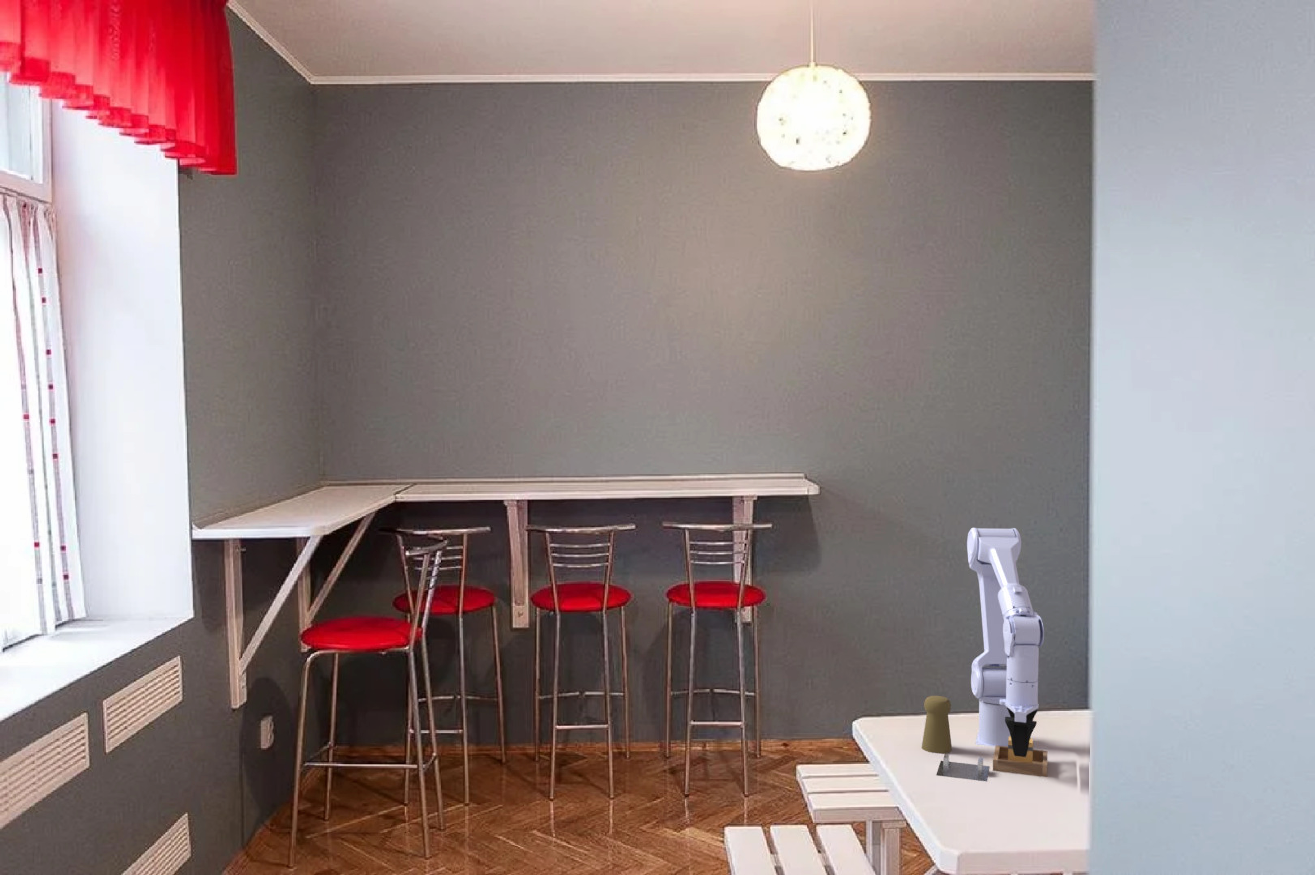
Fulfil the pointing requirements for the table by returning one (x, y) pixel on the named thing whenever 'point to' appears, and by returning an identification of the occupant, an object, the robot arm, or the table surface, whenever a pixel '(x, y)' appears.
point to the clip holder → (963, 769)
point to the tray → (1020, 763)
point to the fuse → (1017, 758)
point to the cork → (937, 725)
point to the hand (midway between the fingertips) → (1020, 750)
